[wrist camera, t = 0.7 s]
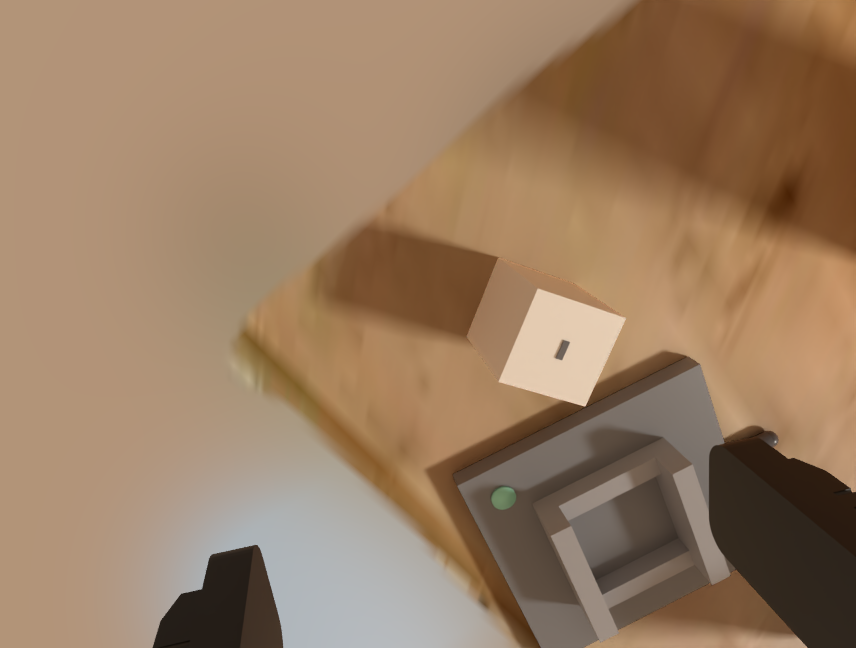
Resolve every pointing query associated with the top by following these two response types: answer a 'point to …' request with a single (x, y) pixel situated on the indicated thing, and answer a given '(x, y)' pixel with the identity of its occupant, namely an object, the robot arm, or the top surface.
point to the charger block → (543, 333)
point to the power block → (605, 508)
